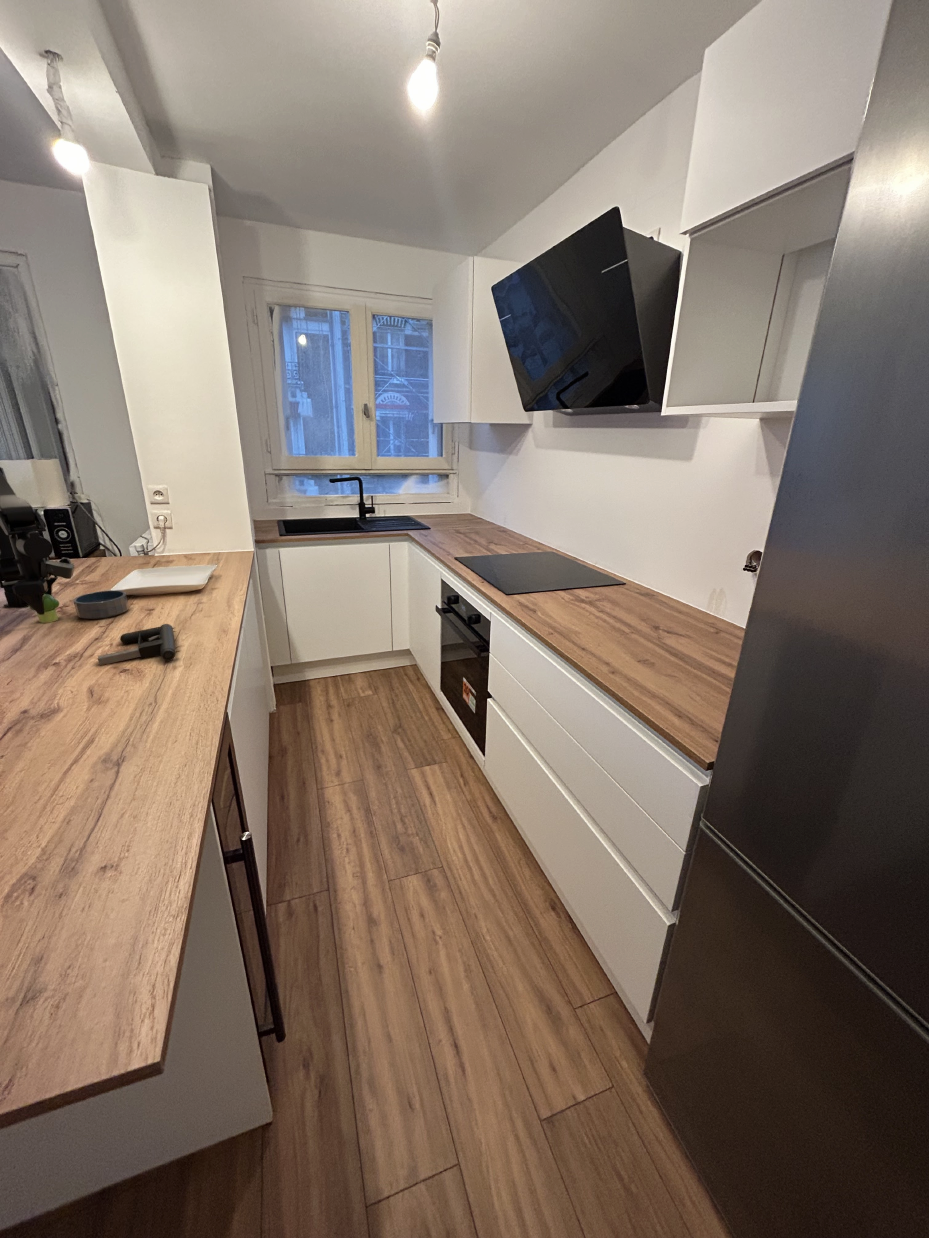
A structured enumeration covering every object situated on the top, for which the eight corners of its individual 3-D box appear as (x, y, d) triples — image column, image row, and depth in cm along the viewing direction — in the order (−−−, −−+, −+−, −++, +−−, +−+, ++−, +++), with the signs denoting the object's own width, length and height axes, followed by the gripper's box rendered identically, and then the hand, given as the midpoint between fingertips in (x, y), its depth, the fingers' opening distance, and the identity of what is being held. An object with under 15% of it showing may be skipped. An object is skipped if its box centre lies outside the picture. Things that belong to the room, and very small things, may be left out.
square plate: (219, 573, 183) (217, 563, 181) (207, 594, 158) (205, 582, 157) (137, 578, 175) (134, 567, 173) (110, 600, 150) (107, 588, 149)
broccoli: (32, 625, 130) (23, 598, 128) (36, 619, 135) (28, 593, 132) (61, 621, 133) (54, 595, 131) (65, 615, 138) (58, 590, 135)
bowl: (96, 606, 146) (92, 590, 144) (138, 606, 146) (134, 590, 144) (67, 620, 134) (62, 603, 132) (112, 620, 135) (107, 603, 133)
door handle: (94, 665, 103) (179, 646, 110) (101, 634, 119) (175, 620, 126) (99, 679, 104) (183, 659, 112) (105, 647, 120) (179, 631, 128)
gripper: (60, 558, 124) (76, 615, 129) (73, 544, 139) (87, 596, 144) (3, 562, 118) (22, 622, 124) (23, 547, 134) (39, 601, 139)
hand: (45, 609), depth 133 cm, fingers open, 9 cm apart
